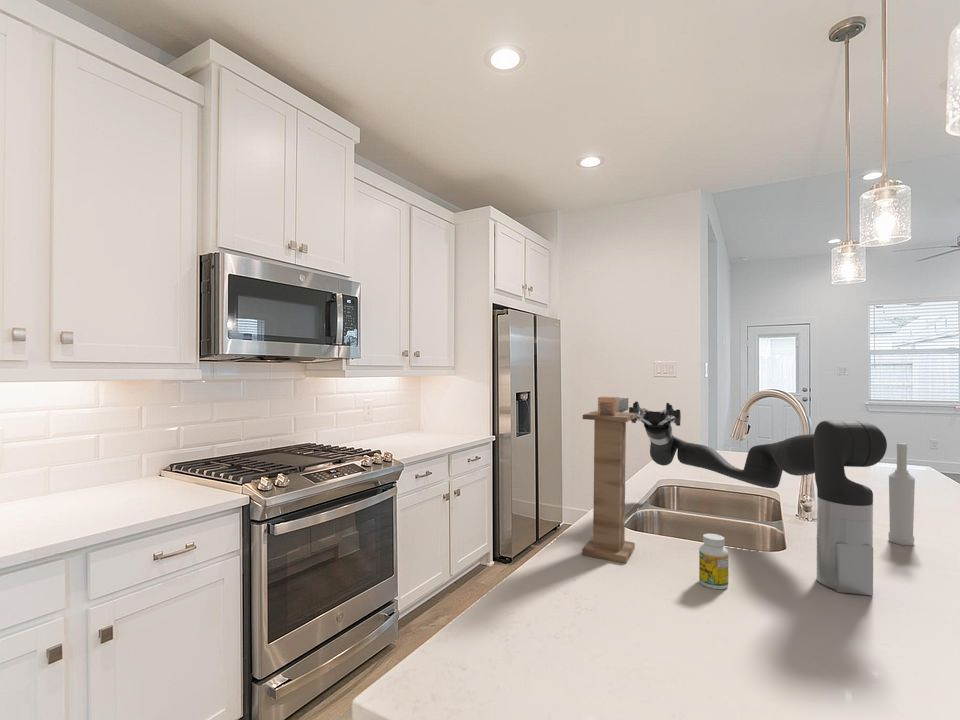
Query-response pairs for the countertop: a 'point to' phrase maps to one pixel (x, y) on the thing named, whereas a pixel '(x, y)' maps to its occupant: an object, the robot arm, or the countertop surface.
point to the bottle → (901, 500)
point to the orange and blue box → (612, 405)
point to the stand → (609, 488)
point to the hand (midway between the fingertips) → (651, 405)
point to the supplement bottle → (713, 562)
